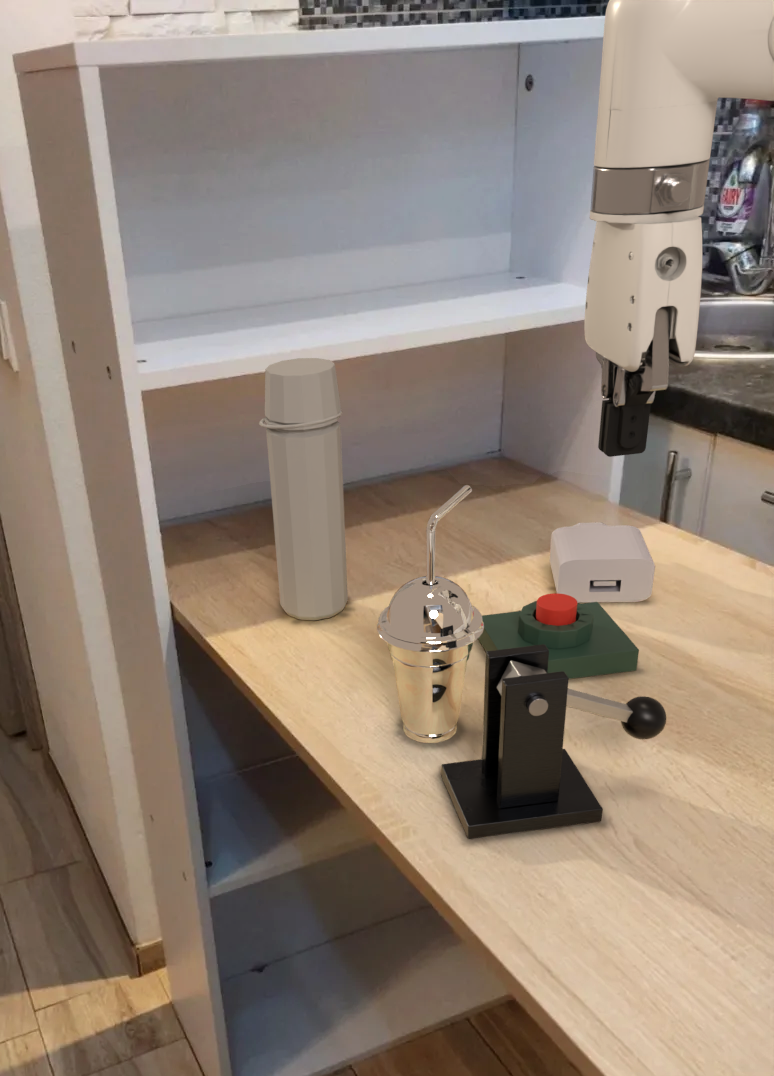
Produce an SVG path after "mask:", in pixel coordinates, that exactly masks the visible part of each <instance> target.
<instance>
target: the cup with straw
mask: <svg viewBox="0 0 774 1076" xmlns="http://www.w3.org/2000/svg"><path fill="white" fill-rule="evenodd" d="M472 492H473V489H472V487H471V485H468V484H466V485H463V487H461V488H460V489H459V490H458V491H457V492H456V493H455V494H454V495H453V496H452V497H450V498H449V499H448V500H447V501H446V502H445V503H443V504H442V505H441V506H440V507H439V508H438V509H436V511H434V512H433V513H432V514H431V516H430V517H429V518H428V521H427V524H426V529H425V535H426V536H425V576H419V577H416V578H413V579H411V580H409V581H407V582H405V583H404V584H402V585H401V586H400V587H399V588H398V589H397V590H396V591H395V592H394V594H393V596H392V598H391V599H390V602H389V603H388V606H386V607H385V608H384V609H383V610H382V611H381V612H380V614H379V616H378V622H377V624H376V631H377V634H378V636H379V637H380V638H381V640H383V641H384V642H386V643H387V648H388V651H389V656H390V659H391V661H392V663H393V664H392V665H393V670H394V678H395V685H396V691H397V692H396V693H397V697H398V704H399V712H400V718H401V721H402V722H403V725H402V731H403V733H404V734H405V736H407V737H408V738H409V739H411V740H413V741H415V742H418V743H419V742H420V743H425V744H436V743H442V742H445V741H447V740H449V739H451V738H452V737H454V736H455V735H456V733H457V731H458V730H457V729H458V726H457V722H458V721H459V717H460V711H461V704H462V699H463V692H464V685H465V678H466V671H467V665H468V661H469V659H470V656H471V651H472V649H473V646H474V645H473V644H474V643H475V642H476V641H477V640H479V639H478V638H479V637H480V636H481V634H482V633H483V630H484V624H483V621H482V613H481V611H480V610H479V609H478V608H477V607H476V606H475V605H473V603H472V602H471V599H470V598H469V596H468V594H467V592H466V590H464V589H463V588H462V587H461V586H460V585H459V584H458V583H457V582H456V581H455V582H454V581H453V580H451V579H450V578H449V579H448V578H447V577H443V576H439V575H436V529H437V526H438V523H439V522H440V520H442V519H443V518H444V517H445V516H447V514H449V512H451V511H452V510H453V509H454V508H455V507H456V506H457V505H458V504H460V503H461V502H462V501H463V500H465V498H466V497H468V496H469V494H471V493H472Z"/></svg>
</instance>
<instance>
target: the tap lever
mask: <svg viewBox="0 0 774 1076" xmlns="http://www.w3.org/2000/svg"><path fill="white" fill-rule="evenodd" d="M544 673H546V672H545V670H544V669H541V668H537V667H534V666H530V665H526V664H523V663H519V662H516V661H512V660H511V661H510V662H509V664H508V666H507V668H506V670H505V672H504V674H503V676H502V678H501V680H500V682H499V684H498V686H497V689H498V691H499V693H500V694H501V695H502V679H504V678H512V677H520V676H528V675H536V674H544ZM566 708H570V709H574V710H578V711H582V712H586V713H590V714H593V715H597V716H601V717H603V718H608V719H611V720H616V721H619V722H620V724H621V727H622V729H623V731H624V732H625V733H626V734H627V735H629V736H630V737H631V738H634V739H636V740H637V739H638V740H643V741H644V740H645V741H646V740H650V739H653V738H656V737H657V736H658V735H660V733H662V731H663V730H664V729H665V727H666V725H667V724H666V723H667V712H666V709H665V707H664V706H663V705H662V703H661V702H660V701H659V700H657V699H656V698H653V697H650V696H647V695H646V696H645V695H643V696H642V695H641V696H636V697H633V698H631V699H629V700H628V701H627V702H626V703H623V702H621V701H620V702H619V701H616V700H612V699H609V698H606V697H605V698H604V697H602V696H598V695H595V694H590V693H588V692H584V691H580V690H575V689H572V688H569V687H568V692H567V704H566Z"/></svg>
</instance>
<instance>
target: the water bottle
mask: <svg viewBox="0 0 774 1076" xmlns="http://www.w3.org/2000/svg"><path fill="white" fill-rule="evenodd" d="M342 415H343V411H342V405H341V398H340V391H339V384H338V377H337V369H336V363H335V362H333V361H332V360H330V359H325V358H319V357H299V358H292V359H284V360H279V361H277V362H273V363H271V364H269V365H268V366H267V367H266V368H265V370H264V416H265V417H263V418H261V419H260V420H259V422H258V425H259V426H261V427H262V428H266V429H265V431H266V432H265V434H266V444H267V457H268V469H269V483H270V494H271V507H272V519H273V531H274V541H275V542H274V544H275V545H274V546H275V555H276V567H277V569H276V570H277V579H278V592H279V593H278V594H279V604H280V606H281V608H282V609H283V611H284V612H285V613H286V614H287V616H288V617H289V616H290V617H292V618H295V619H297V620H303V621H319V620H324V619H330V618H332V617H334V616H336V615H337V614H339V613H341V612H342V611H343V610H344V609H345V608H346V605H347V603H348V600H349V594H348V593H349V592H348V591H349V590H348V569H347V567H348V566H347V545H346V520H345V501H344V500H345V499H344V498H345V497H344V477H343V476H344V474H343V473H344V472H343V453H342V450H343V449H342V429H341V428H342V427H341V425H342V424H341V422H339V419H340V418H341V416H342Z"/></svg>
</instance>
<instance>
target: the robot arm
mask: <svg viewBox="0 0 774 1076" xmlns="http://www.w3.org/2000/svg"><path fill="white" fill-rule="evenodd" d="M602 38H603V39H602V50H601V53H602V54H601V64H600V76H599V77H600V79H599V90H598V105H597V119H596V131H595V143H594V156H593V170H592V181H591V182H592V185H591V194H590V195H591V198H590V209H589V220H591V221H594V222H596V224H595V229H594V234H593V241H592V248H591V254H590V261H589V269H588V276H587V286H586V295H585V304H584V305H585V307H584V322H583V323H584V326H583V329H584V340H585V343H586V345H587V346H588V347H589V348H590V349H591V350H593V351H594V352H595V358H596V360H597V362H598V363H599V364H600V366H601V367H600V368H601V381H600V394H601V398H602V399H603V400H602V401H601V410H600V411H601V412H600V422H599V433H598V445H597V448H598V450H599V451H600V452H602V453H603V454H604V455H605V456H606V457H609V458H611V457H619V456H620V457H621V456H629V455H630V456H631V455H639V454H643V453H644V452H645V451H646V448H647V440H648V431H649V425H650V424H649V423H650V414H651V406H652V404H653V403H654V400H655V397H656V396H655V395H656V392H657V391H664V390H665V391H666V390H667V389H668V387H669V377H670V375H669V373H670V371H669V369H670V368H669V367H670V366H669V365H670V363H671V364H673V365H675V366H678V367H687V366H689V365H690V364H691V363H692V362H693V360H694V358H695V354H696V349H697V340H698V339H697V338H698V331H699V329H698V328H699V319H700V308H701V307H700V306H701V295H702V293H701V292H702V280H703V279H702V277H703V225H702V217H701V216H702V215H703V214H704V208H705V201H706V200H705V199H706V192H707V186H708V185H707V184H708V177H709V169H710V162H711V161H710V159H711V152H712V147H713V146H712V145H713V137H714V130H715V124H716V123H715V122H716V121H715V120H716V114H717V107H718V106H717V105H718V101H719V98H720V99H745V100H746V99H747V100H760V101H768V102H774V0H608V2H607V5H606V9H605V16H604V24H603V37H602Z"/></svg>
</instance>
